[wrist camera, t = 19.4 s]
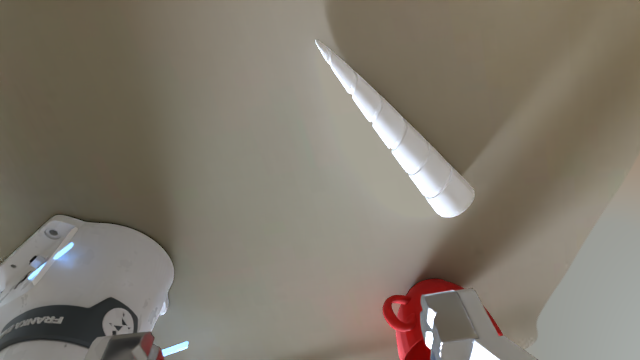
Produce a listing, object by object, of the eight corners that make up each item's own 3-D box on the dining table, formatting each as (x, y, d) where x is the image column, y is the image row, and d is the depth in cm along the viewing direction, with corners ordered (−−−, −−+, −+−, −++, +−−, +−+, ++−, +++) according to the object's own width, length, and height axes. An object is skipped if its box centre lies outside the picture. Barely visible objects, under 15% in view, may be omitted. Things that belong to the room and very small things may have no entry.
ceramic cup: (406, 235, 49) (431, 298, 41) (492, 284, 55) (529, 347, 47) (344, 294, 54) (355, 361, 46) (429, 333, 61) (452, 397, 52)
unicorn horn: (348, 9, 34) (356, 20, 30) (467, 180, 45) (484, 204, 41) (306, 44, 35) (308, 59, 31) (431, 201, 47) (445, 227, 43)
